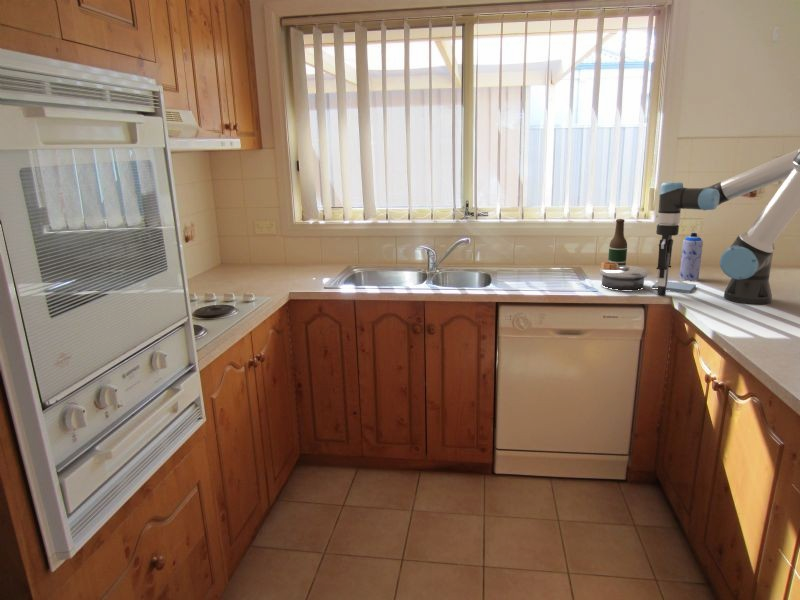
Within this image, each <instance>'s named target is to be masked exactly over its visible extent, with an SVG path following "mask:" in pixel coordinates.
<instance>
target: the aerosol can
mask: <svg viewBox="0 0 800 600" xmlns="http://www.w3.org/2000/svg"><path fill="white" fill-rule="evenodd" d="M703 241H704V240H703V239H702V237H700V236H699V235H698V233H697V232H691V233H690V235H689V236H687V237H685V239H683V241H682V242H683V243H682V251H681V257H680V258H681V261H680V268H679V269H680V270H679V276H678V278H679V277H680V278H681V279H684V280H698V281H700V278H699V277H700V271H701V270H700V268H701V262H702V261H701V260H702V253H703V247H704V246H703V245H704V242H703ZM684 280H683V281H684Z"/></svg>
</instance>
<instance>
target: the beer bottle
mask: <svg viewBox="0 0 800 600" xmlns="http://www.w3.org/2000/svg"><path fill="white" fill-rule="evenodd" d="M625 221H626V220H625V219H624V218H617V219H615V223H616V224H615V230H614V235H613V237H612V238H611V240H610V242H609V247H608V257H607V258H608V259H607V260H608V261H607V262H614V263H618V265H625V266H627V255H628V254H627V253H628V242H627V239H626V238H625V234H624V233H625V232H624V231H625Z"/></svg>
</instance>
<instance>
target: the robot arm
mask: <svg viewBox="0 0 800 600" xmlns="http://www.w3.org/2000/svg"><path fill="white" fill-rule="evenodd" d="M782 180H784V181H783V182H782V184H780V186H779V187H778V189H777V190H776V191H775V193H774V194H773V195H772V197H771V198H770V199H769V200H768V202H767V204H766V205H765V206H764V208H763V210H762V211H761V212H760V214H759V215H758V217H756V219H755V220H754V222H753V223H752V224H751V226H750V227H749V229H748V230H747V231H746V232H741V233H739V234H738V236H737V237H736V238H735V240H734V241H733V243H732V244H731V245H730V246H729V247H728V248H726V249H725V250H724V251H723V252H722V254H721V256H720V258H719V267H720V269H721V271H722V273H723V274H724V275H726V276H727V277H729V278H730V280H729V282H728V283H727V286H726V287H725V290H724V294H723V298H724V299H726V300H728V301H731V302H735V303H741V304H747V305H749V304H750V305H766V304H771V303H772V300H773V293H772V289H771V285H770V275H771V274H770V273H771V269H772V263H773V254H774V250H775V241H776V240H777V239H778V237H779V236H780V235H781V234H782V232H783V231H784V230H785V228H787V226H788V225H789V223H790V222H791V221H792V219H793V218H794V216H796V214H797V212H799V210H800V147H799V148H798V149H795V150H793V151H791V152H789V153H787V154H784V155H782V156H779V157H777V158H776V157H775V159H772V160H769V161H767V162H765V163H762V164H760V165H758V166H756V167H752V168H751V169H748V170H745V171H744V172H741V173H739V174H736V175H734V176H732V177H729V178H726V179H725V180H722V181H720V182H717V183H715V184H712V185H710V186H705V187H699V188H698V187H697V188H696V187H694V188H693V187H692V188H691V187H690V188H689V187H684V183H683V182H680V181H679V182H677V181H676V182H675V181H668V182H663V183H661V186H660V191H659V197H658V198H659V200H658V201H659V202H658V214H656V218H657V223H658V224H657V225H656V232H655V233H656V235H659V236H661V239H660V240H659V243H658V261H657V267H656V270H657V273H658V275H657V281H656V282H657V286H664V287H665V283H666V272H667V270H666V265H667V257H668V253H670V255H669V265H668V272H670V271H669V270H670V269H671V268H672V265H671V262H672V260H671V259H672V253H673V245H674V239H673V236H677V235H678V234H679V230H680V225H679V224H680V223H681V209H683V210H684V209H685V210H698V211H699V210H703V211H713V210H715V209H717V208H718V206H720V205H722V204H723V203H725V202H728V201H731V200H734V199H735V198H736V199H737V198H739V197H742V196H744V195H747V194H749V193H751V192H754V191H757V190H759V189H762V188H765V187H768V186H769V185H772V184H774V183H777V182H780V181H782ZM668 278H669V274H668V275H667V281H668V280H669V279H668ZM668 282H669V281H668Z"/></svg>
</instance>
